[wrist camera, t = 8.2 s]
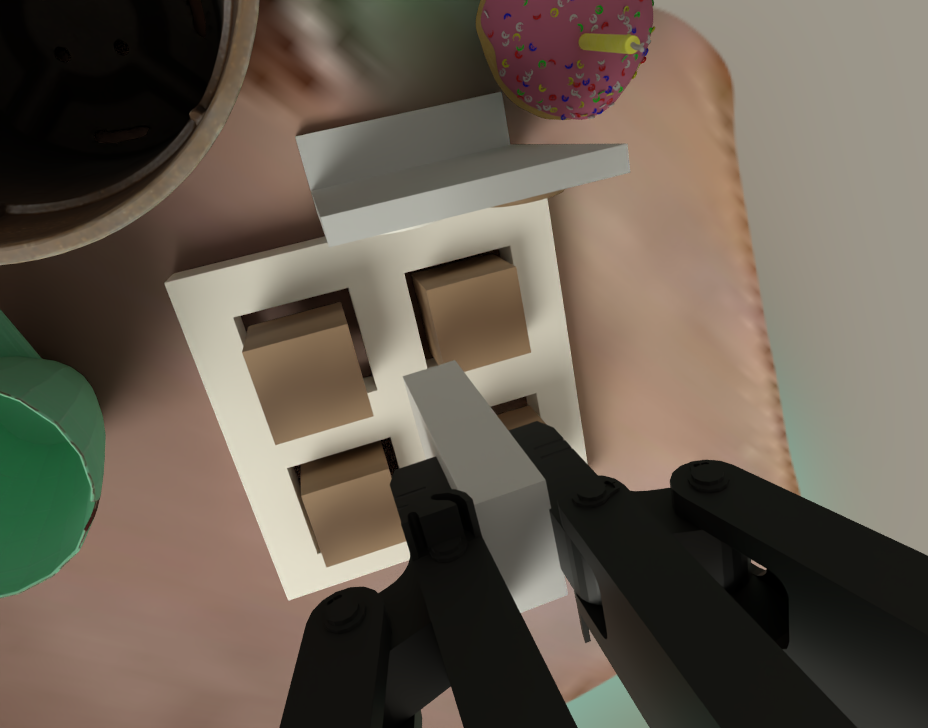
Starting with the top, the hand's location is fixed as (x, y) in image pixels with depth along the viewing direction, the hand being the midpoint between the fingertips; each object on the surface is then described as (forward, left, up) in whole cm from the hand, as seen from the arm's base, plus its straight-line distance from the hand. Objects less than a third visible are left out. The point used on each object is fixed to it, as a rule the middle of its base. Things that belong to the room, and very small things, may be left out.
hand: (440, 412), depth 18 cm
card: (-6, +4, -20) cm, 21 cm away
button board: (+7, 0, -20) cm, 21 cm away
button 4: (+3, +5, -19) cm, 20 cm away
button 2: (+3, -4, -17) cm, 18 cm away
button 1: (+12, -4, -19) cm, 23 cm away
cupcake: (-10, +12, -20) cm, 25 cm away
